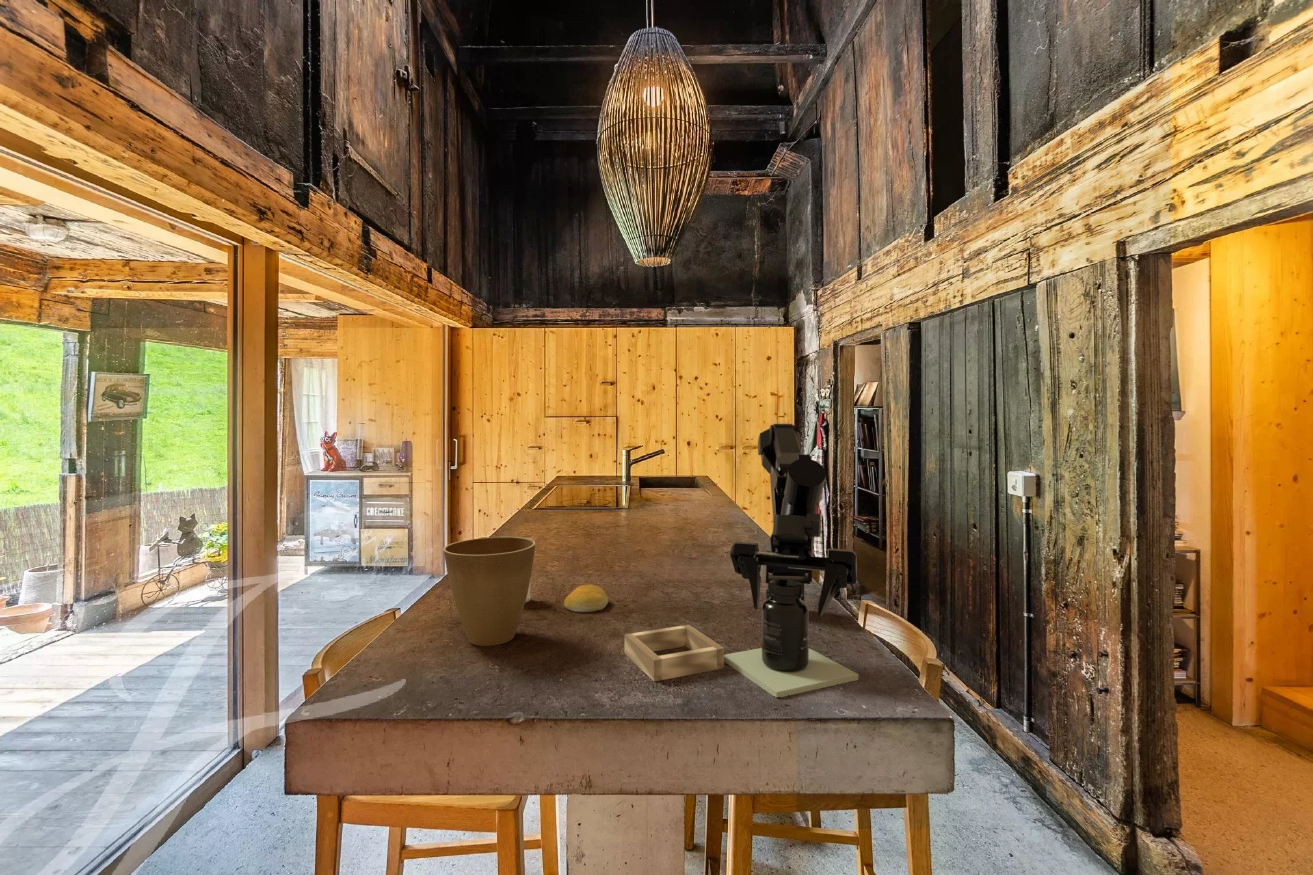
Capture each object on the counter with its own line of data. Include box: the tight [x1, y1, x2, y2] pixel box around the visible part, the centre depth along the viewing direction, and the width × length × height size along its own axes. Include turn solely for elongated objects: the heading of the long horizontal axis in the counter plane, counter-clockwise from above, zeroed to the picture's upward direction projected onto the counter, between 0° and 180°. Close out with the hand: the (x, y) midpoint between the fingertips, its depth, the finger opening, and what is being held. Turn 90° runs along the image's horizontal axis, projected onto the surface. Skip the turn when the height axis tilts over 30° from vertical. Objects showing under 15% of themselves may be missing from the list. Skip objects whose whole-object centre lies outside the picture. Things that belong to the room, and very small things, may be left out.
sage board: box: [724, 647, 859, 698], centre depth 88 cm, size 14×14×1 cm
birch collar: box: [624, 624, 725, 682], centre depth 91 cm, size 11×11×3 cm
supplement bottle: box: [761, 579, 810, 672], centre depth 88 cm, size 7×7×12 cm
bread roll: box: [563, 584, 609, 613], centre depth 119 cm, size 8×9×4 cm
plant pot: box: [442, 536, 536, 647], centre depth 100 cm, size 15×15×16 cm
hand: (786, 612), depth 87 cm, fingers open, 9 cm apart
